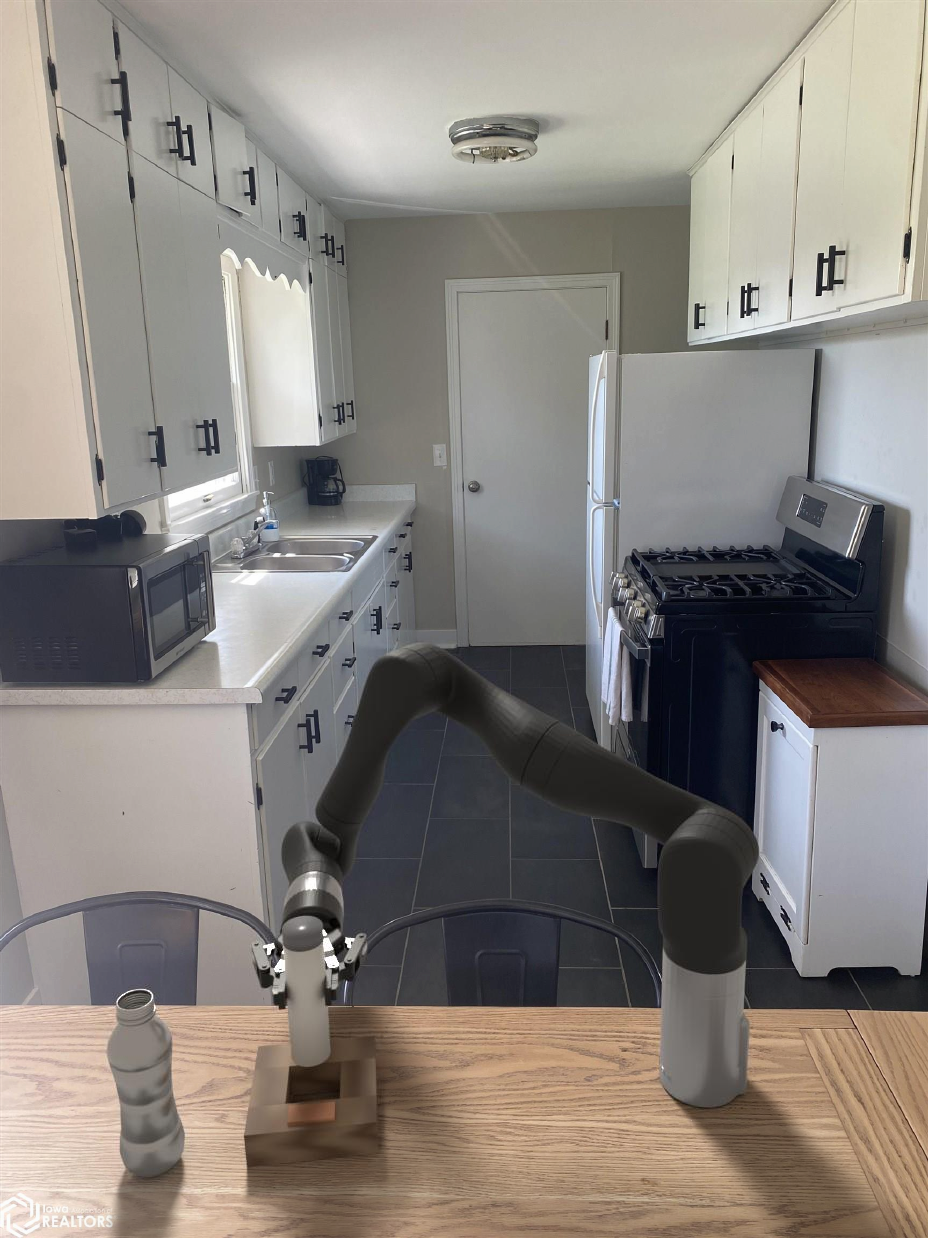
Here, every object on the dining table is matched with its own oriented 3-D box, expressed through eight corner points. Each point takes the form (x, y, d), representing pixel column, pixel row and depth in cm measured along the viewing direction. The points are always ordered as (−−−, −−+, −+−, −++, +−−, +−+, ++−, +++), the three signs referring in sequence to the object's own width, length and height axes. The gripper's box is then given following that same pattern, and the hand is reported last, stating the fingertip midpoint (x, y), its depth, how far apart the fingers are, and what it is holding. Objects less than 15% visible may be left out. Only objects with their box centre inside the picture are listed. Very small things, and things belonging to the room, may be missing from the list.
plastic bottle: (168, 1191, 96) (148, 1023, 92) (109, 1182, 98) (87, 1016, 93) (197, 1143, 102) (180, 984, 98) (142, 1135, 104) (122, 977, 99)
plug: (331, 1038, 107) (323, 914, 103) (329, 1065, 103) (321, 937, 99) (292, 1041, 107) (283, 917, 103) (289, 1068, 102) (280, 940, 99)
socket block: (376, 1064, 114) (374, 1032, 113) (378, 1153, 100) (376, 1119, 99) (260, 1075, 113) (257, 1043, 112) (246, 1167, 99) (243, 1132, 98)
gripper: (253, 891, 115) (234, 975, 98) (368, 883, 116) (369, 964, 100) (257, 945, 117) (240, 1036, 100) (371, 936, 118) (372, 1025, 102)
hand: (305, 1000), depth 100 cm, fingers closed on plug, 4 cm apart
